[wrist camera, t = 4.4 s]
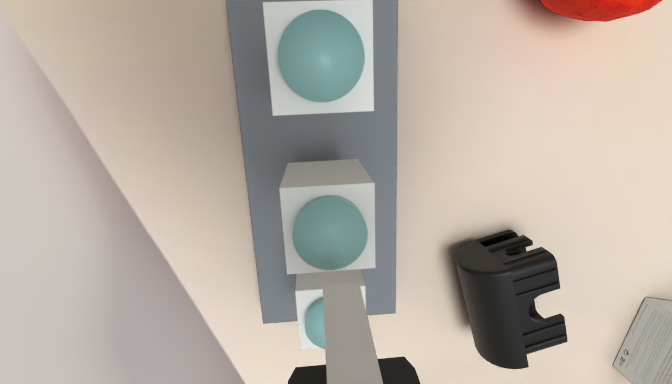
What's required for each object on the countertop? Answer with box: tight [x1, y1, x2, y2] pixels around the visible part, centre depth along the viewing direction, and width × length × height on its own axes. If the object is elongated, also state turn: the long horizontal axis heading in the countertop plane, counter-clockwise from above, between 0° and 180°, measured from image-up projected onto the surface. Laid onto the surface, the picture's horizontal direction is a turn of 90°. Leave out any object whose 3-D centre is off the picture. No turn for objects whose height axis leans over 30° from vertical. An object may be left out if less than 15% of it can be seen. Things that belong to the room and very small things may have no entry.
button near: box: [263, 0, 374, 116], centre depth 18 cm, size 5×5×7 cm
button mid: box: [279, 159, 375, 274], centre depth 20 cm, size 5×5×7 cm
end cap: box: [455, 230, 567, 369], centre depth 32 cm, size 10×7×7 cm
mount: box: [226, 0, 398, 324], centre depth 27 cm, size 26×12×8 cm, turn 2°
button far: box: [295, 269, 366, 350], centre depth 26 cm, size 5×5×7 cm
